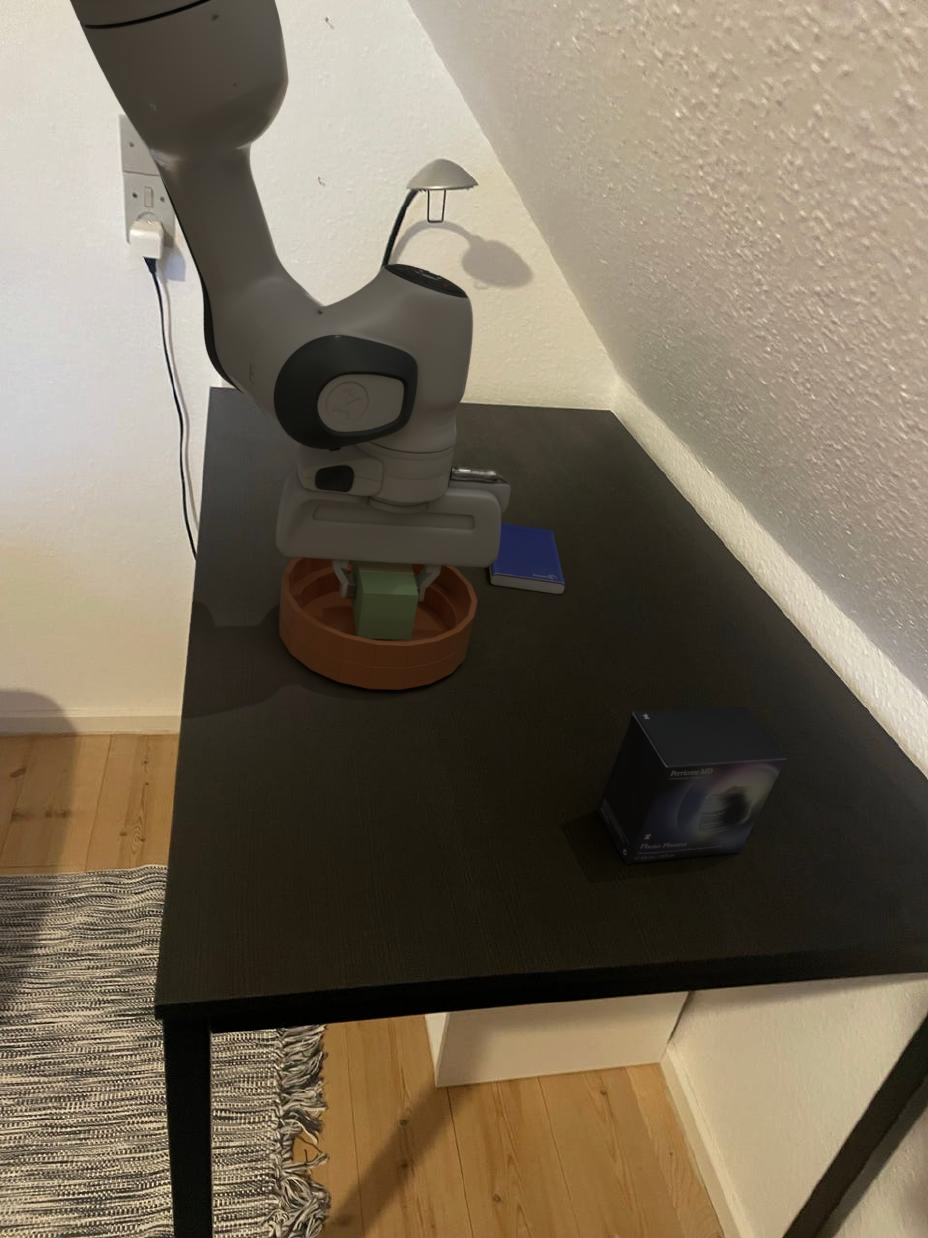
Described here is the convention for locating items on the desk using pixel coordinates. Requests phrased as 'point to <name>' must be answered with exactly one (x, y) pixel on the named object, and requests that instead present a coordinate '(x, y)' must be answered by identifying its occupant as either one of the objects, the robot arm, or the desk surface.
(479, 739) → the desk surface
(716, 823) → the small box
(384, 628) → the package
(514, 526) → the hard drive
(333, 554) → the robot arm
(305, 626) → the bowl
